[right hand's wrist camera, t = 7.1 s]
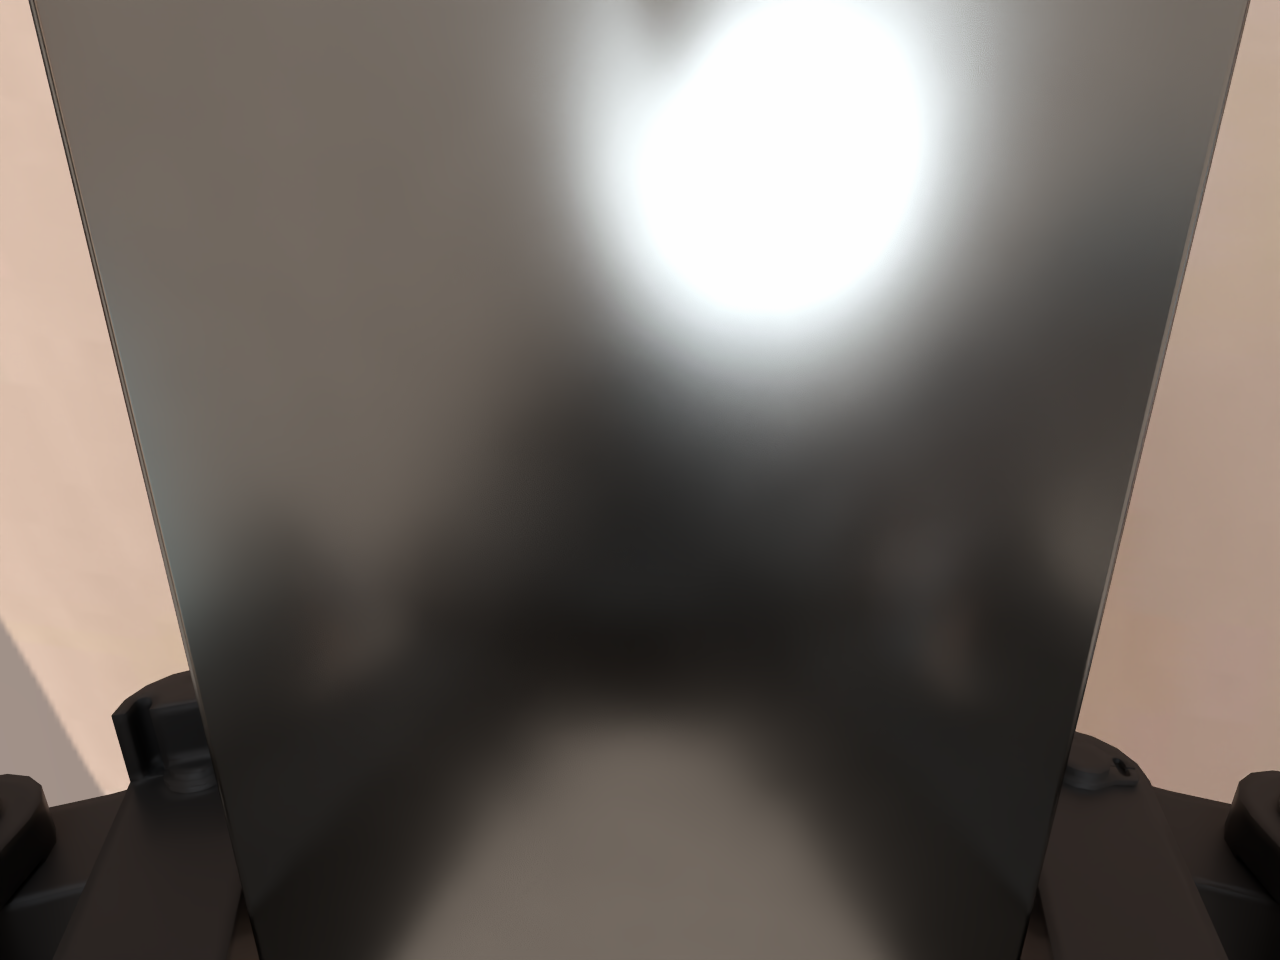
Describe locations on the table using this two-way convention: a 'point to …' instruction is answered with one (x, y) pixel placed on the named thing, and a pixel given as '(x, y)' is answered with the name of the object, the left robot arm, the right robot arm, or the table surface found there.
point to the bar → (639, 442)
